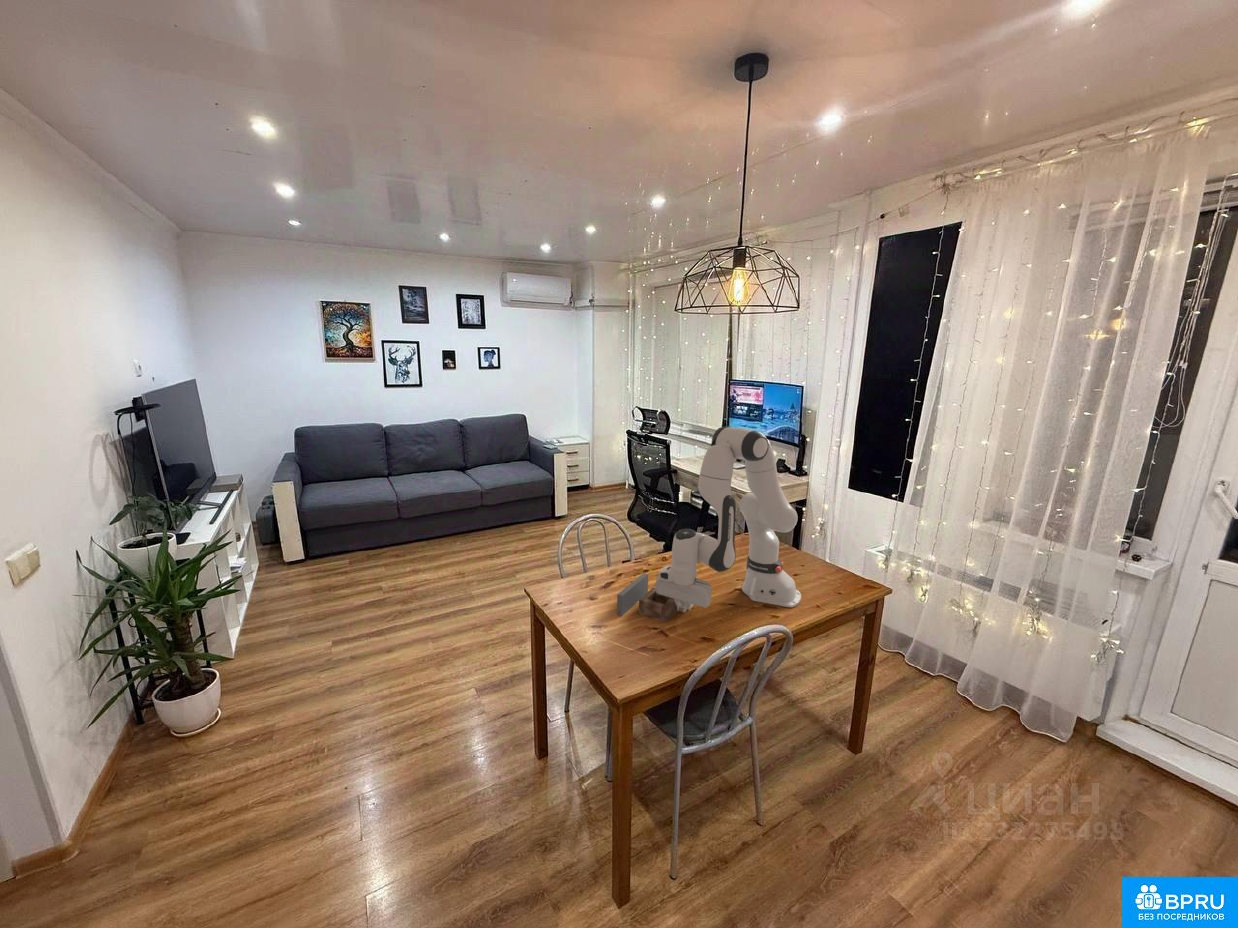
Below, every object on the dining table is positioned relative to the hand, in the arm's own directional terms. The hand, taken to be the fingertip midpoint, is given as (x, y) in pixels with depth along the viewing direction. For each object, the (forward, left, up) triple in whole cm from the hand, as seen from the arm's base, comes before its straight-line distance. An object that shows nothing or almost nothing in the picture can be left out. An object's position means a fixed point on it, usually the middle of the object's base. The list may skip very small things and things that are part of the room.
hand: (681, 610), depth 176 cm
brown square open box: (+9, 0, -3) cm, 10 cm away
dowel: (+2, -9, -3) cm, 10 cm away
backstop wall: (+20, 0, -3) cm, 20 cm away
